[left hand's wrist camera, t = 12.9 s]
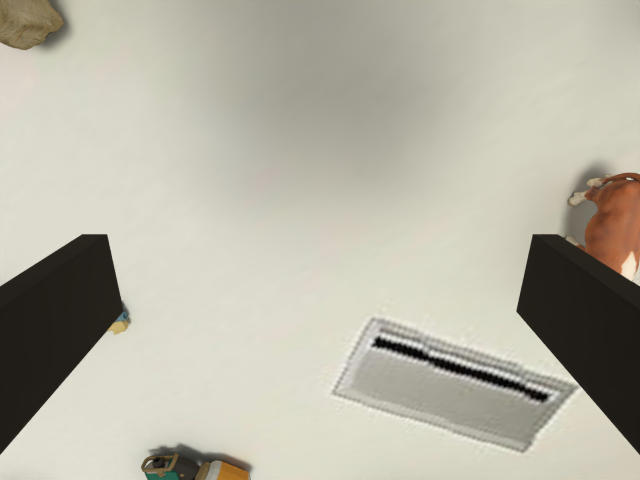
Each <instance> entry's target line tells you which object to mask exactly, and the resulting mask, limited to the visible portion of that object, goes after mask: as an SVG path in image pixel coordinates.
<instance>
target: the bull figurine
mask: <svg viewBox="0 0 640 480" xmlns="http://www.w3.org/2000/svg"><path fill="white" fill-rule="evenodd" d="M626 178H631V179H634V180H627V179H626ZM608 184H609V185H608ZM587 185H588V186H589V187H591V188H590V189H589V190H587V191H585V192H579V193H577V192H576V193H574V197H571V198H570V199H569V201H568V203H569V205H570V206H573V207H574V206H576V205H578V204H579V203H581V202H582V201H584V200H591V201H593V202H594V203H595V204H596V205H597V206H598V212H597V213H596V214H595V215H594V216H593V217H592V218H591V220H590V221H589V223H588V225H587V227H586V230H585V241H586V247H585V248H584V247H583V246H582V245H580V244H578V243H577V242H576V240H575V238H574V237H570V236H567V238H566V240H567V241H569V242H571V243H572V244H574V245H575V246H577V247H578V248H580V249H582V250H583V251H585V252H586V253H588V254H589V255H591V256H593V257H594V258H596V259H597V260H599V261H601V262H602V263H604V264H605V265H607V266H608V267H610V268H612V269H613V270H615V271H616V272H618V273H619V274H621V275H623V276H624V277H626V278H627V279H629V280H630V281H633V278H634V275H635V273H636V271H637V269H638V266H639V258H640V174H637V173H622V174H619V175H616V176H614V175H610V174H608V175H605V178H594V179H590V180H589V181H588V182H587ZM606 185H607V186H606ZM602 186H605V187H604V188H603V189H601V190H600V187H602Z"/></svg>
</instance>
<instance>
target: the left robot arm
mask: <svg viewBox="0 0 640 480" xmlns="http://www.w3.org/2000/svg"><path fill="white" fill-rule="evenodd" d="M123 312H124V311H123V306H122V301H121V297H120V292H119V287H118V283H117V278H116V273H115V269H114V264H113V260H112V255H111V250H110V246H109V241H108V236H107V234H82V235H80V236H79V237H77V238H76V239H74V240H73V241H71V242H69V243H68V244H66V245H65V246H63V247H62V248H60V249H58V250H57V251H55V252H54V253H52V254H51V255H49V256H47V257H46V258H44V259H43V260H41V261H39V262H38V263H36V264H35V265H33V266H32V267H30V268H28V269H27V270H25V271H24V272H22V273H21V274H19V275H17V276H16V277H14V278H13V279H11V280H10V281H8V282H6V283H5V284H3V285H2V286H0V454H1V453H2V452H3V451H4V450H5V449H6V447H7V446H8V445H9V444H10V443H11V442H12V440H13V439H14V438H15V437H16V436H17V435H18V434H19V432H20V431H21V430H22V429H23V428H24V427H25V425H26V424H27V423H28V422H29V421H30V420H31V418H32V417H33V416H34V415H35V414H36V413H37V411H38V410H39V409H40V408H41V407H42V406H43V405H44V403H45V402H46V401H47V400H48V399H49V398H50V396H51V395H52V394H53V393H54V392H55V391H56V389H57V388H58V387H59V386H60V385H61V384H62V382H63V381H64V380H65V379H66V378H67V377H68V375H69V374H70V373H71V372H72V371H73V370H74V369H75V367H76V366H77V365H78V364H79V363H80V362H81V360H82V359H83V358H84V357H85V356H86V355H87V353H88V352H89V351H90V350H91V349H92V348H93V346H94V345H95V344H96V343H97V342H98V341H99V339H100V338H101V337H102V336H103V335H104V334H105V333H106V331H107V330H108V329H109V328H110V327H111V326H112V324H113V323H114V322H115V321H116V320H117V319H118V317H119V316H120V315H121V314H122V313H123ZM516 312H517V313H518V314H519V315H520V316H521V317H522V319H523V320H524V321H525V322H526V323H527V324H528V326H529V327H530V328H531V329H532V330H533V331H534V333H535V334H536V335H537V336H538V337H539V338H540V339H541V341H542V342H543V343H544V344H545V345H546V346H547V348H548V349H549V350H550V351H551V352H552V353H553V355H554V356H555V357H556V358H557V359H558V360H559V362H560V363H561V364H562V365H563V366H564V367H565V369H566V370H567V371H568V372H569V373H570V374H571V375H572V377H573V378H574V379H575V380H576V381H577V382H578V384H579V385H580V386H581V387H582V388H583V389H584V391H585V392H586V393H587V394H588V395H589V396H590V398H591V399H592V400H593V401H594V402H595V403H596V405H597V406H598V407H599V408H600V409H601V410H602V411H603V413H604V414H605V415H606V416H607V417H608V418H609V420H610V421H611V422H612V423H613V424H614V425H615V427H616V428H617V429H618V430H619V431H620V432H621V434H622V435H623V436H624V437H625V438H626V439H627V440H628V442H629V443H630V444H631V445H632V446H633V447H634V449H635V450H636V451H637V452H638V453H639V454H640V286H638V285H637V284H635V283H634V282H632V281H630V280H629V279H627V278H626V277H624V276H623V275H621V274H619V273H618V272H616V271H615V270H613V269H612V268H610V267H608V266H607V265H605V264H604V263H602V262H601V261H599V260H597V259H596V258H594V257H593V256H591V255H589V254H588V253H586V252H585V251H583V250H582V249H580V248H578V247H577V246H575V245H574V244H572V243H571V242H569V241H567V240H566V239H564V238H563V237H561V236H560V235H558V234H533V236H532V241H531V246H530V250H529V255H528V260H527V264H526V269H525V273H524V278H523V283H522V287H521V292H520V297H519V301H518V306H517V311H516Z"/></svg>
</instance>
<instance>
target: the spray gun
mask: <svg viewBox="0 0 640 480" xmlns="http://www.w3.org/2000/svg"><path fill="white" fill-rule="evenodd" d="M168 459H170V461H169V460H168ZM149 460H153V462H151V463H149V464H148V465H147V466H146V467H145V465H146V463H147V462H148V461H149ZM144 467H145V468H144ZM141 468H142V471H143V472H145V475H146V477H147V479H148V480H251V478H250V474H249V472H247V471H245V470H242V469H240V468H237V467H235V466H232V465H230V464H227V463H225V462H222V461H213V462H211V463H209V462H205V463H204V464H203V465H201V466H198V465H197V464H195V463H193V462H191V461H189V460H187V459H185V458H183V457H181V456H179V454H177V453H175V454H174V455H172V456H150V457H147V458H146V459H145V460H144V462H143V464H142V466H141Z"/></svg>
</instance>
